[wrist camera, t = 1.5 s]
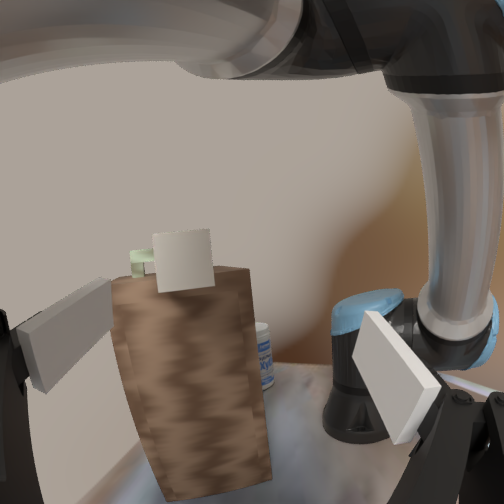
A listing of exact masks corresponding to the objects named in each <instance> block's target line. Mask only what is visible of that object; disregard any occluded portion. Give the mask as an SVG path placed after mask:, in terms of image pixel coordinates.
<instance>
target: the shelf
mask: <svg viewBox="0 0 504 504" xmlns="http://www.w3.org/2000/svg"><path fill="white" fill-rule="evenodd" d="M130 260H131V269H132V276H124V277H119V278H116V279H115V280H113V281H111V294H112V310H113V323H114V326H113V327H112V328H111V329H110V332H111V337H112V342H113V347H114V351H115V356H116V360H117V364H118V368H119V372H120V376H121V380H122V383H123V387H124V391H125V394H126V398H127V401H128V405H129V408H130V411H131V414H132V417H133V420H134V423H135V426H136V429H137V432H138V435H139V438H140V440H141V443H142V446H143V448H144V451H145V454H146V456H147V459H148V461H149V463H150V466H151V468H152V471H153V473H154V475H155V478H156V480H157V482H158V484H159V486H160V489H161V491H162V493H163V495H164V497H165V499H166V501H167V502H172V501H179V500H187V499H193V498H199V497H205V496H210V495H215V494H220V493H224V492H229V491H233V490H237V489H241V488H245V487H248V486H252V485H256V484H259V483H262V482H266V481H269V480H272V472H271V464H270V455H269V446H268V437H267V428H266V419H265V410H264V401H263V392H262V383H261V374H260V364H259V355H258V346H257V337H256V327H255V318H254V309H253V299H252V289H251V280H250V270H249V269H246V268H236V267H226V266H213V271H214V281H215V286H210V287H203V288H195V289H187V290H179V291H171V292H162V293H158V286H157V278H156V273H152V274H145V270H144V262H148V261H155V260H154V250H153V249H144V250H135V251H130Z"/></svg>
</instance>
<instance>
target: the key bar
mask: <svg viewBox="0 0 504 504" xmlns="http://www.w3.org/2000/svg"><path fill="white" fill-rule="evenodd" d="M152 240H153V250H154V260H155V269H156V278H157V286H158V293H162V292H171V291H179V290H187V289H195V288H203V287H210V286H215V281H214V271H213V262H212V252H211V241H210V230H209V229H200V230H189V231H178V232H167V233H157V234H152Z"/></svg>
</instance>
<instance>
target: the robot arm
mask: <svg viewBox="0 0 504 504" xmlns="http://www.w3.org/2000/svg"><path fill="white" fill-rule="evenodd" d="M135 61H174V62H176V63H177V64H178V65H179V66H180V67H181V68H183V69H184V70H186V71H188V72H190V73H192V74H194V75H196V76H200V77H203V78H210V79H237V80H313V79H327V78H338V77H344V76H351V75H355V74H362V73H367V72H372V71H379V70H381V71H382V72H383V75H384V78H385V82H386V85H387V88H388V91H390V92H391V93H392V94H393V95H395V96H396V97H398V98H399V99H401V100H402V101H404V102H405V103H407V104H408V105H409V107H410V109H411V112H412V116H413V121H414V125H415V130H416V135H417V140H418V145H419V151H420V157H421V163H422V171H423V179H424V187H425V196H426V205H427V220H428V238H429V239H428V240H429V281H428V282H427V283H426V284H425V285H424V286H423V288H422V289H421V291H420V294H419V297H418V298H408V299H404V294H403V293H402V291H401V290H400V289H396V288H394V289H381V290H374V291H369V292H365V293H362V294H358V295H354V296H351V297H348V298H346V299H344V300H342V301H340V302H339V303H337V304H336V305H335V307H334V308H333V311H332V329H331V335H332V359H333V387H332V390H331V393H330V395H329V398H328V401H327V404H326V406H325V408H324V411H323V427H324V429H325V431H326V432H327V433H328V434H329V435H330V436H332V437H333V438H335V439H337V440H340V441H343V442H347V443H353V444H368V443H374V442H378V441H381V440H384V439H386V438H389V437H390V438H391V440H392V442H393V444H394V445H396V444H402V443H407V442H411V440H412V439H413V437H414V435H415V434H416V432H417V431H418V433H419V435H420V437H421V438H420V440H419V441H418V443H417V444H416V446H415V447H414V449H413V450H412V452H411V453H410V454H409V457H411V458H410V460H409V463H408V465H407V467H406V469H405V471H404V473H403V475H402V477H401V479H400V481H399V483H398V485H397V487H396V488H395V490H394V492H393V494H392V496H391V498H390V499H389V501H388V503H387V504H456V501H457V498H458V494H459V504H504V393H503V392H492V393H490V395H489V397H488V398H487V400H486V402H475V401H474V399H473V397H472V396H471V395H470V394H468V393H467V392H465V391H463V390H458V389H450V387H449V386H448V385H447V384H446V383H445V381H444V380H443V379H442V378H441V377H440V375H439V374H437V372H436V371H447V370H467V369H471V368H475V367H479V366H481V365H483V364H484V363H486V361H487V360H488V359H489V358H490V356H491V354H492V352H493V350H494V348H495V345H496V335H497V334H498V330H499V311H498V306H497V302H496V300H495V298H494V296H493V295H492V294H491V291H490V289H489V287H490V283H491V279H492V274H493V269H494V264H495V259H496V254H497V248H498V242H499V235H500V227H501V218H502V208H503V194H504V138H503V123H502V113H501V106H502V104H503V102H504V0H0V84H1V83H4V82H8V81H11V80H15V79H18V78H22V77H26V76H30V75H35V74H39V73H44V72H49V71H54V70H59V69H65V68H71V67H78V66H86V65H94V64H104V63H116V62H135ZM113 326H114V323H113V310H112V294H111V279H106V278H101V277H99V278H97V279H95V280H94V281H92V282H90V283H88V284H87V285H85V286H83V287H81V288H80V289H78V290H76V291H75V292H73V293H71V294H70V295H68V296H66V297H65V298H63V299H61V300H60V301H58V302H56V303H55V304H53V305H51V306H50V307H48V308H47V309H45V310H43V311H40V312H38V313H37V314H35V315H34V316H33V317H31V318H29V319H28V320H27V321H24V322H23V323H21V324H19V325H18V326H16V327H15V328H13V329H12V330H9V325H8V321H7V316H6V312H5V311H4V310H2V309H0V504H44V502H43V498H42V494H41V490H40V486H39V482H38V477H37V473H36V468H35V463H34V457H33V451H32V444H31V437H30V428H29V418H28V403H27V386H26V383H25V379H27V377H29V376H30V379H31V382H32V385H33V388H35V389H37V390H39V391H41V392H43V393H45V394H47V393H48V392H49V391H50V390H51V389H52V388H53V387H54V386H55V384H56V383H57V382H58V381H59V380H60V379H61V378H62V377H63V376H64V375H65V374H66V373H67V372H68V371H69V370H70V369H71V368H72V367H73V366H74V365H75V364H76V363H77V362H78V361H79V360H80V359H81V358H82V357H83V356H84V355H85V354H86V353H87V352H88V351H89V350H90V349H91V348H92V347H93V346H94V345H95V344H96V343H97V342H98V341H99V340H100V339H101V338H102V337H103V336H104V335H105V334H106V333H107V332H108V331H109V330H110V329H111V328H112V327H113ZM412 336H413V337H412ZM489 443H490V445H489V448H488V444H489Z"/></svg>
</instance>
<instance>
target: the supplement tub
mask: <svg viewBox="0 0 504 504" xmlns="http://www.w3.org/2000/svg"><path fill="white" fill-rule="evenodd" d="M255 327H256V337H257V346H258V355H259V364H260V374H261V383H262V390H265V389H267V388H269V387H270V386H272V384H273V383H274V372H273V362H272V351H271V340H270V333H269V327H268V325H267V324H265V323H260V322H255Z"/></svg>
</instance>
